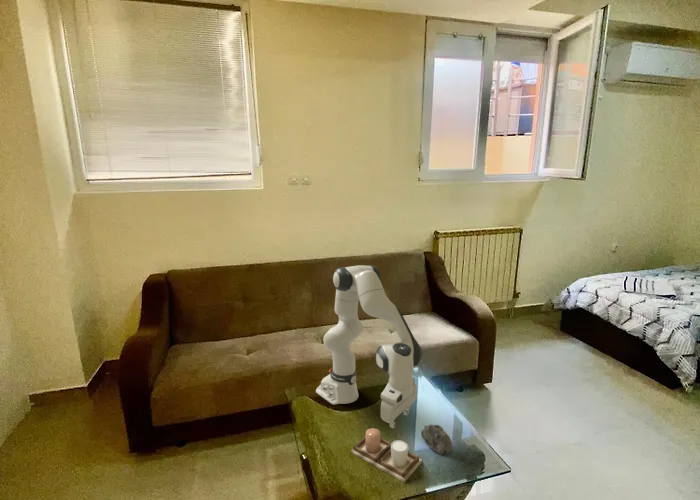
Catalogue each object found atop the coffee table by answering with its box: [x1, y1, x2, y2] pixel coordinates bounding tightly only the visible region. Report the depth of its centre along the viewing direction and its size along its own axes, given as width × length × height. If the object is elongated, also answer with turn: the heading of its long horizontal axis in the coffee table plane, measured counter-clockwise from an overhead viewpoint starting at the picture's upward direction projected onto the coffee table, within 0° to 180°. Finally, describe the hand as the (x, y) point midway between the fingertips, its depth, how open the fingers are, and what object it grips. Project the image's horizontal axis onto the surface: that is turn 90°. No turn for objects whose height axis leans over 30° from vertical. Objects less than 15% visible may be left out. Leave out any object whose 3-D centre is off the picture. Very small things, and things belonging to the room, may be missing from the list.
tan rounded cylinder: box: [365, 427, 381, 454], centre depth 158 cm, size 6×6×7 cm
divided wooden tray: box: [350, 435, 423, 483], centre depth 155 cm, size 25×13×2 cm, turn 52°
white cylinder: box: [390, 439, 409, 467], centre depth 151 cm, size 7×7×7 cm
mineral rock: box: [420, 424, 453, 456], centre depth 161 cm, size 13×11×10 cm
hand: (399, 420), depth 148 cm, fingers open, 8 cm apart
